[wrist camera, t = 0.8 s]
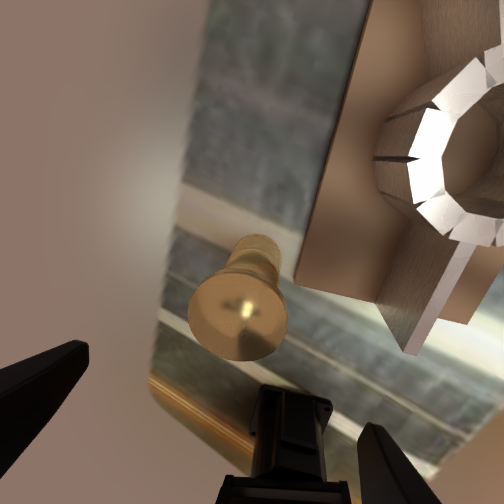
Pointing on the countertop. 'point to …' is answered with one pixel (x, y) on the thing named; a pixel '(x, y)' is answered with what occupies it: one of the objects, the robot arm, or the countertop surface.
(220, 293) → the hinge pin
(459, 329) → the countertop surface
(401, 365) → the countertop surface
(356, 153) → the walnut board
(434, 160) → the hinge
